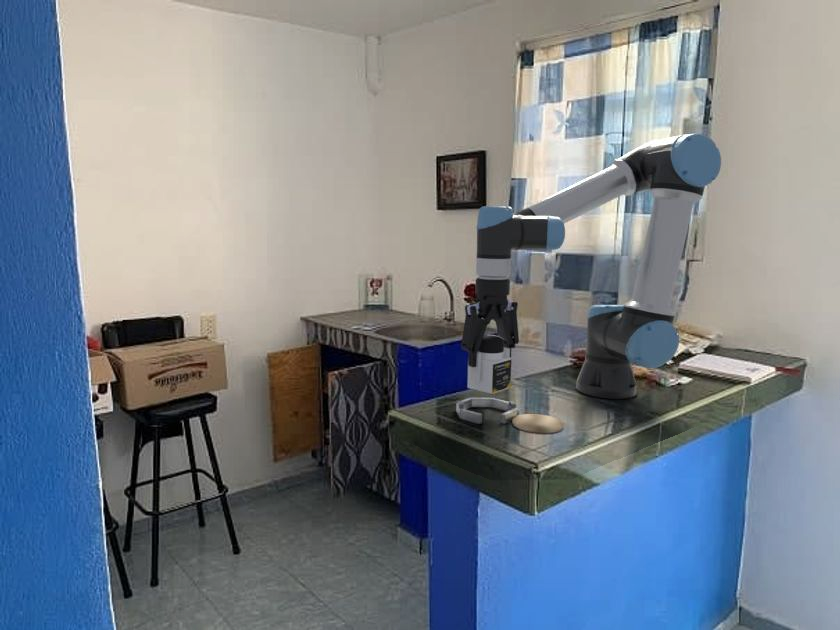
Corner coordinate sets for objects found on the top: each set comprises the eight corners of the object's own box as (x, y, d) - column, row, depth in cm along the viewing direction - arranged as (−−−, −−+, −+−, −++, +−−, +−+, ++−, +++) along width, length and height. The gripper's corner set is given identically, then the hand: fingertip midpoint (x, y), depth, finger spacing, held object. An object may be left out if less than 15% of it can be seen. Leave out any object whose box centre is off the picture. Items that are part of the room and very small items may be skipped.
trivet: (554, 416, 142) (554, 413, 142) (570, 433, 131) (570, 430, 131) (507, 416, 141) (507, 414, 140) (519, 433, 130) (519, 430, 130)
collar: (507, 405, 149) (507, 394, 148) (521, 423, 136) (521, 411, 136) (453, 405, 147) (453, 394, 147) (462, 423, 135) (463, 411, 134)
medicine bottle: (492, 394, 136) (494, 340, 134) (466, 388, 140) (468, 336, 138) (511, 388, 141) (513, 336, 139) (485, 382, 146) (487, 331, 144)
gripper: (515, 273, 145) (511, 368, 149) (445, 278, 134) (442, 380, 137) (538, 276, 139) (534, 375, 143) (467, 281, 128) (464, 388, 131)
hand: (489, 377), depth 140 cm, fingers closed on medicine bottle, 8 cm apart
